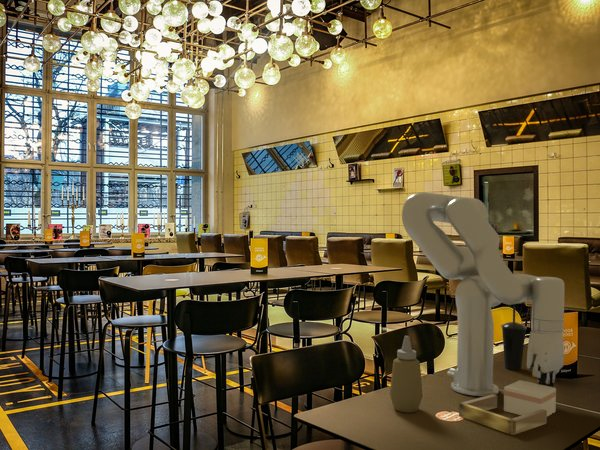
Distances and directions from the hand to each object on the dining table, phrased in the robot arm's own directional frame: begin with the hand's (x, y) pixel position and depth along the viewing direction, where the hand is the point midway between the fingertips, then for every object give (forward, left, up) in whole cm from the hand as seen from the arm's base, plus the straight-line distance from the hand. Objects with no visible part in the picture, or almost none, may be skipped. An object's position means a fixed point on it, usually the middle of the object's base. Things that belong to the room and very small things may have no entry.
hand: (545, 397), depth 141 cm
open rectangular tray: (0, -18, -2) cm, 18 cm away
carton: (0, -7, -2) cm, 8 cm away
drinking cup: (-26, +26, -2) cm, 37 cm away
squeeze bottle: (-17, -32, -2) cm, 37 cm away
